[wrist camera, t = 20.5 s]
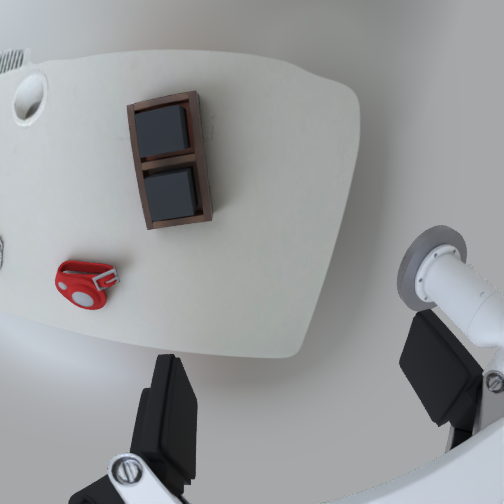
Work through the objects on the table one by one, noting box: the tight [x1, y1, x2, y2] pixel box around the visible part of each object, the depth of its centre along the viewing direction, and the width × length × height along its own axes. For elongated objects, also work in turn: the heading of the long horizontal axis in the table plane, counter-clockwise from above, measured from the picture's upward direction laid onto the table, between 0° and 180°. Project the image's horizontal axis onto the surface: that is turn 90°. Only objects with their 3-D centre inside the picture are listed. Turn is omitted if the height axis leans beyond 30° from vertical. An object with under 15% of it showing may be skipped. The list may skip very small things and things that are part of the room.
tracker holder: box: [55, 261, 120, 310], centre depth 36 cm, size 12×4×10 cm
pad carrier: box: [127, 91, 213, 230], centre depth 31 cm, size 8×16×3 cm, turn 6°
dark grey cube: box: [144, 166, 198, 221], centre depth 31 cm, size 5×5×5 cm
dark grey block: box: [135, 105, 190, 158], centre depth 28 cm, size 5×5×5 cm
